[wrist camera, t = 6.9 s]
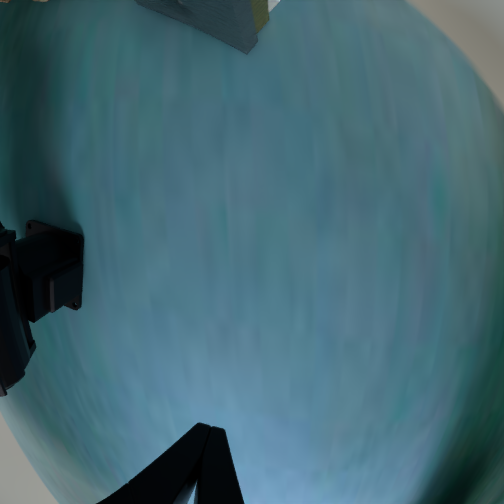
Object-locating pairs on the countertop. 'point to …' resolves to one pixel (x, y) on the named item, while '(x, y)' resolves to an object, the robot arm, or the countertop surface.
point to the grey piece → (213, 18)
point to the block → (272, 4)
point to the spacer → (260, 13)
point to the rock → (33, 0)
